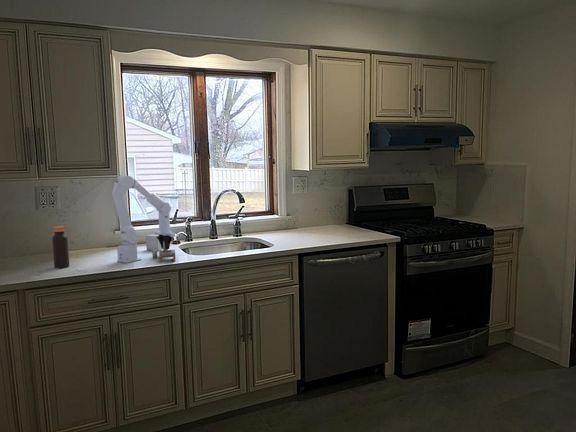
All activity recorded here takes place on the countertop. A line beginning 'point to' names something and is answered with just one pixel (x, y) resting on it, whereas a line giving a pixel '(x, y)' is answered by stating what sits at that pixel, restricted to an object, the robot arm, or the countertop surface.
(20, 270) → the countertop surface
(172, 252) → the hole bridge
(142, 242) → the countertop surface
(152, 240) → the medicine box
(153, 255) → the short pin
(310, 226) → the countertop surface
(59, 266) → the bottle
